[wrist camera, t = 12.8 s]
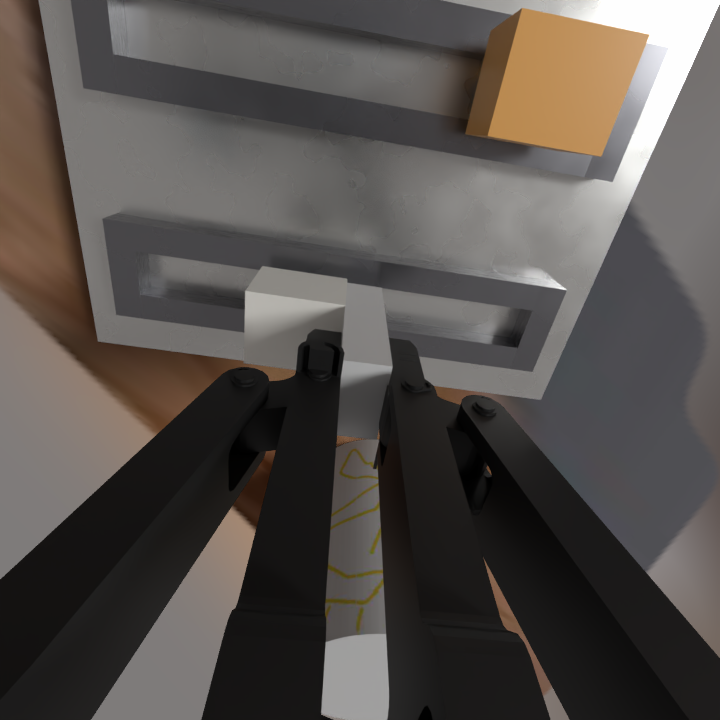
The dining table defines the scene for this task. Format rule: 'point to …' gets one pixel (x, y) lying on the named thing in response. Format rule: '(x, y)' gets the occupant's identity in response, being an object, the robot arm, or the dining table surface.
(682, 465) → the dining table surface
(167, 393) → the dining table surface
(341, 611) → the cup
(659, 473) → the dining table surface
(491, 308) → the console
